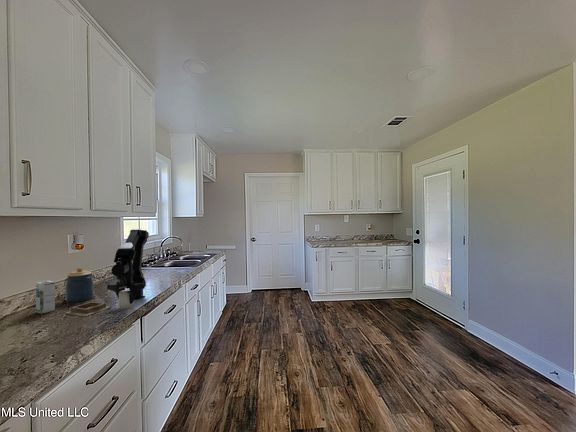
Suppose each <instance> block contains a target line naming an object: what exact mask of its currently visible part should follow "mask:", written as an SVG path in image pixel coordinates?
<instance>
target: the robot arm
mask: <svg viewBox="0 0 576 432" xmlns="http://www.w3.org/2000/svg"><path fill="white" fill-rule="evenodd" d="M149 235H150V233H149V231H147V230H146V229H143V230H142V229H140V228H132V229H130V231H129V234H128V236H127V238H126V240H125V242H124V243H123V244H122V245H119V247H118V249H117V250H116V251H115V255H114V260H113V262H114V263H115V265H113V266H111V271H110V273H111V274H112V275H113V276H115V277H116V278H115V279H113V280H111V281H110V282H109V283H108V284H107V286H106V288H107V290H110V291H111V292H114V293H115V295H116V297H117V299H118V301H119V291H123V290H126V289H128V290H130V291H127V292H128V293H129V299H130V304H132V303H133V304H134V301H135V300H140V299H142V297H143V298H145V297H146V295H144V289H145V287H147V281H146V278H145V276H144V275H145V274H144V273H143V271H142V262H143V256H144V246H145V245H146V243H148V239H149Z"/></svg>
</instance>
